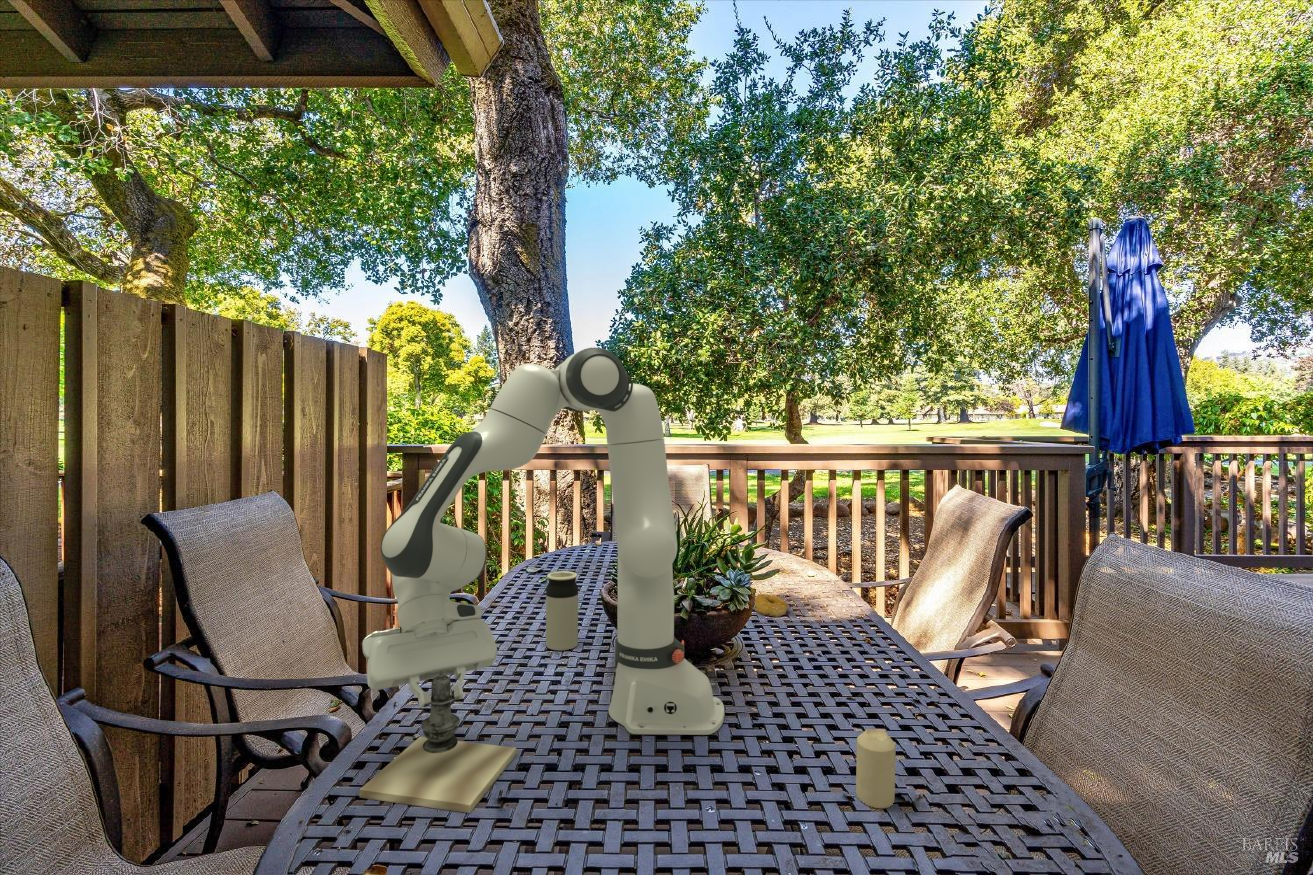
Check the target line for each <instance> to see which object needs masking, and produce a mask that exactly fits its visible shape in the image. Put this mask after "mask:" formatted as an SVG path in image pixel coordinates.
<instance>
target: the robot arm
mask: <svg viewBox="0 0 1313 875" xmlns="http://www.w3.org/2000/svg"><path fill="white" fill-rule="evenodd" d="M562 410H568V411H572V412H590V411H596V412H597V413H598V415H600V417H601V419H602V420H603V423H604V427H605V430H606V432H605V433H606V434H605V435H606V444H607V446H606V447H607V454H608V463H609V474H610V484H611V493H612V503H613V515H614V524H615V535H616V544H617V623H616V624H617V626H616V628H617V630H616V632H617V633H616V636H617V637H616V639H614V640H615V641H614V649H613V650H614V653H613V654H614V657H613V659H614V668H615V679H614V684H613V685H614V686H613V692H612V696H611V700H610V704H609V707H608V715H609V716H610V718H611V719H612V720H614V721H615V722H616V723H618V724H620V725H621V726H623V727H624V728H625V729H626V731H627V732H628V733H630V734H632V735H678V736H679V735H684V736H685V735H689V736H690V735H693V736H694V735H698V736H700V735H701V736H702V735H703V736H705V735H707V736H708V735H713V733H716V732H717V731H718V730H719V729H720V728H721V727H722V725H723V723H724V720H725V706H724V703H723V701H722V700H721V699H720V698H718V697H717V696H714V694H713V693H714V692H713V689H712V685H711V682H710V679H709V678H708V676H707V675H706V674H705V672H702V671H701V670H699V669H698V668H697V667H696V666H694V665H693V664H692V663H691V662H689V661H688V660H687V659H686V658H685V641H684V639H682V640H681V642H680V641H679V640H678V639H677V638H676V637H675V635H674V634H675V595H674V594H675V593H674V591H675V590H674V574H673V563H674V561H675V559H676V557H677V554H678V539H677V531H676V523H675V515H674V509H673V502H672V493H671V488H670V482H669V480H670V479H669V473H668V464H667V453H666V445H665V435H664V428H663V422H662V417H661V412H660V408H659V405H658V402H657V398H656V395H655V393H654V392H653V390H652V389H651V388H650V387H648V386H646V385H643V384H641V383H634V382H633V379H632V378H631V376H630V375H629V374H628V372H627V371H626V369H625V367H624V365H623V364H622V362H621V361H620V359H619V357H617V355H616V354H614V353H613V352H611V351H609V350H608V349H606V348H605V349H604V348H603V347H602V348H601V347H587V348H584V349H581V350H579V351H577V352H575V353H573V354H571V355H570V356H567V358H566V359H565V360H564V361H563V362H561V363H560V364H559V365H557V366H556V367H554V368H552V369H551V368H547V367H545V366H543V365H541V364H536V363H523V364H520V365H518V366H517V367H516V368H515V369H514V370H513V371H512V373H511V374H510V375H509V376H508V378H507V379H506V381H505V382H504V383H503V384H502V386H501V387H500V390H499V391H498V392H497V394H496V396H495V398H494V400H493V402H492V404H491V405H490V406H489V409H488V411H487V413H486V414H485V416H484V418H483V419H482V421H481V422H479V424H478V425H477V426H475V428H473V429H472V430H471V431H468V432H463V433H461V434H460V435H459V436H458V437H457V438H456V439H455V440H454V441H453V442H452V444H450V446H449V447H448V448H447V450H446V451H445V452H444V454H442V456H441V458H440V459H439V461H438V462H437V464H436V465H435V467H434V468H433V469H432V471H431V472H430V474H429V475H428V476H427V478H426V479H425V481H424V483H422V485H421V487H420V488H419V490H418V491H417V492H416V494H415V495H414V497H413V498H412V499H411V501H410V502H409V504H408V505H407V506H406V507H405V509H403V511H402V512H401V513H400V514H399V515H398V516H397V517H396V518H395V519H394V521H393V522H391V524H390V525H389V527H388V528H387V529H386V530H385V532H384V533H383V536H382V539H381V542H380V554H381V557H382V560H383V563H384V565H385V566H386V568H387V570H388V571H389V572H390V573H391V574H390V575H391V583H392V590H393V594H394V596H395V598H396V600H397V609H396V615H397V622H398V627H393V628H388V629H384V630H376V631H372V632H371V633H370V634H368V635H366V636H365V637H364V638H363V640H362V642H361V646H362V654H363V655H364V657H365V658H366V659H367V665H366V666H367V668H366V681H367V685H368V688H370V689H371V690H373V691H380V690H383V689H389V688H394V687H398V686H403V685H404V686H405V685H407V686H408V690H409V691H410V693H411V694H412V695H413V696H415V697H416V698H417V699H418V707H419V709H423V708H427V707H431V697H430V696H431V694H430V691H431V690H430V691H424V690H423V689H422V688H421V686H420V683H421V682H422V681H427V680H431V679H432V680H433V679H434V678H435V677H436V676H439V675H440V674H439V673H440V671H441V670H442V671H443V675H446V676H450V675H453V676H454V679H455V680H457V683H456V684H455V685H452V686H451V688H450V695H452V697H453V699H452V701H456V700H457V701H458V700H461V699H463V696H464V691H463V683H464V679H465V677H466V675H467V672H471V671H475V670H479V669H484V668H489V667H491V666H492V665H493V663H494V662H495V660H496V658H497V656H498V646H497V645H496V644H497V643H496V640H495V637H494V635H493V632H492V630H491V627H490V625H489V624H488V623H487V622H486V621H485V620H484V619H481V618H482V613H483V612H482V608H481V607H480V605H477V604H471V603H462V602H457V601H453V600H451V599H450V595H451V593H452V592H456V591H459V590H461V589H463V588H465V587H466V586H468V585H470V584H471V583H473V582H474V581H476V580H477V579H478V578H479V577H480V576H481V575H482V573H483V571H484V570H485V567H486V565H487V562H488V561H487V560H488V550H487V544H486V542H485V540H484V538H483V537H482V536H481V535H480V534H478V533H475V532H472V531H470V530H466V529H463V528H460V527H457V526H452V525H449V524H445V523H442V522H441V519H442V517H443V516H444V515H445V514H446V512H447V511H448V509H449V508H450V506H451V504H452V503H453V501H454V500H455V498H456V497H457V495H458V494H459V492H460V491H461V489H462V488H463V487H464V485H465V484H466V483H467V482H468V481H469V480H471V478H473V477H474V476H476V475H479V474H482V473H486V472H492V471H493V472H494V471H495V472H496V471H510V470H515V469H518V468H522V467H523V466H526V465H527V464H528V463H530V462H531V461H532V460H533V459H534V458H535V457H536V455H537V454H538V452H539V450H540V449H541V447H542V445H543V442H544V440H545V438H546V437H547V434H548V432H549V429H550V428H551V424H552V423H553V421H554V419H555V417H556V416H557V414H559V413H560V412H561V411H562Z"/></svg>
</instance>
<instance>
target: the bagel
mask: <svg viewBox="0 0 1313 875" xmlns="http://www.w3.org/2000/svg"><path fill="white" fill-rule="evenodd" d="M754 602H755V606H754V611H756V613H757V614H760V615H762V616H771V617H775V618H779V617H782V616H784V615H786V613H787V612H788V611H787V610H788V608H789V606H788V604H787V603H786V602H785V600H784V599H783V598H782V597H780V596H777V595H771V594H764V593H760V594H758V595H757V596H756V597H755V598H754Z"/></svg>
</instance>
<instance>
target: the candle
mask: <svg viewBox="0 0 1313 875" xmlns="http://www.w3.org/2000/svg"><path fill="white" fill-rule="evenodd" d="M896 748H897V747H896V743H895V742H894V740H893V739H892V738H891V736H890V735H888V733H887V732H886V731H885V730H884V731H883V730H881V729H879V728H876V729H872V728H866V730H864V731H863V732H862V733H861V734H860V735H858V736H857V737H856V764H855V765H856V769H855V770H856V771H855V773H856V775H855V776H856V777H855V780H856V781H855V793H856V794H855V795H856V797H857V799H858V798H859V799H858V800H859V801H860V802H861V801H862V802H863V803H862V802H861V803H862V804H864V803H865V804H864V805H865V806H867V807H871V808H874V809H887V808H891V807H892V806H893V805H894V804H893V803H895V800H896V799H895V798H896V797H895V795H896V794H895V792H896V791H895V790H896ZM891 805H892V806H891ZM890 806H891V807H890Z"/></svg>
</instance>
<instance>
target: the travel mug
mask: <svg viewBox="0 0 1313 875" xmlns="http://www.w3.org/2000/svg"><path fill="white" fill-rule="evenodd" d="M546 577H547V580H548V583H547V586H546V587H545V646H546V647H547V649H550V650H552V651H560V652H563V651H569V649H570V650H572V649H575V648H576V647H577V646H578V645H579V586H578V584H577V582H576V581H577V577H578V574H577V573H576V572H574V571H569V570H568V571H567V570H564V571H562V570H559V571H552V572H549V573H548V574H547V575H546Z"/></svg>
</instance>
